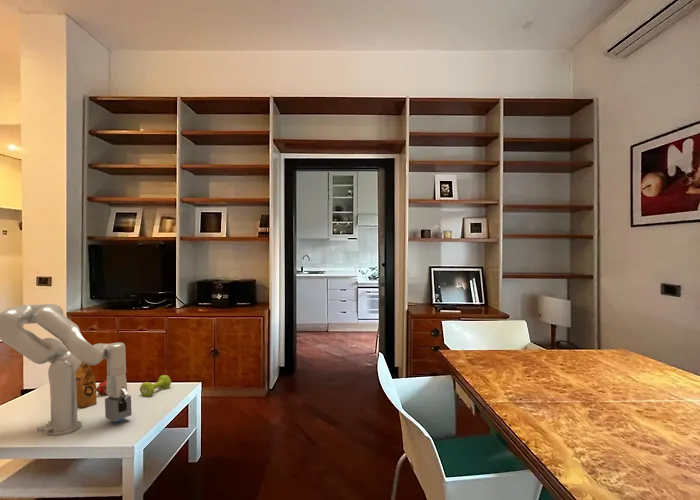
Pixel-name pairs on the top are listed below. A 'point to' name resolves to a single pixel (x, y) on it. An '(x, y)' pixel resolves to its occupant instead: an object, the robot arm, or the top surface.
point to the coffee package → (85, 386)
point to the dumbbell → (155, 385)
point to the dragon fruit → (102, 388)
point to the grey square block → (116, 408)
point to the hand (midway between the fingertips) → (118, 409)
